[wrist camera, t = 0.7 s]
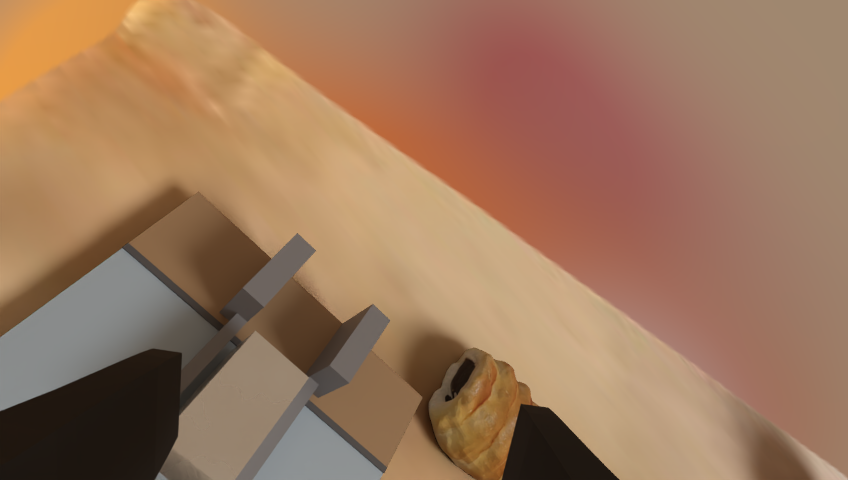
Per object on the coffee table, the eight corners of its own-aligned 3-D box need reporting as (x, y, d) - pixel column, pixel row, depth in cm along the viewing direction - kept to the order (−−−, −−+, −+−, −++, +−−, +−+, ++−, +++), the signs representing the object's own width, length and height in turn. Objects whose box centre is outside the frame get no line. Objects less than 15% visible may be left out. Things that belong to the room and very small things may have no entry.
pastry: (548, 442, 35) (594, 433, 33) (515, 536, 30) (566, 535, 28) (456, 344, 34) (496, 327, 31) (407, 427, 29) (449, 414, 27)
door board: (217, 766, 18) (264, 806, 15) (-193, 489, 16) (-235, 473, 13) (409, 402, 30) (458, 384, 27) (190, 203, 27) (217, 158, 24)
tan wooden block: (188, 517, 20) (210, 512, 18) (124, 468, 19) (141, 458, 17) (282, 392, 24) (309, 377, 22) (232, 349, 23) (255, 330, 22)
